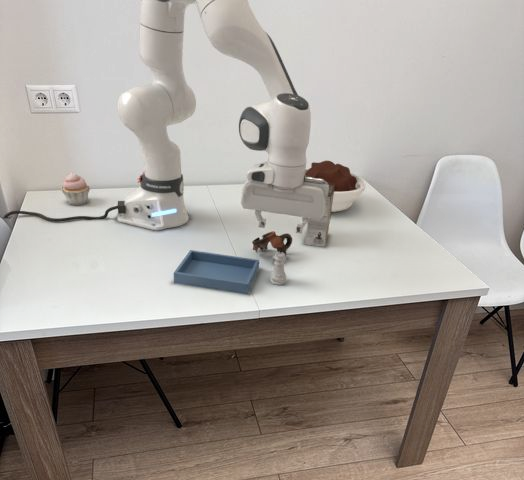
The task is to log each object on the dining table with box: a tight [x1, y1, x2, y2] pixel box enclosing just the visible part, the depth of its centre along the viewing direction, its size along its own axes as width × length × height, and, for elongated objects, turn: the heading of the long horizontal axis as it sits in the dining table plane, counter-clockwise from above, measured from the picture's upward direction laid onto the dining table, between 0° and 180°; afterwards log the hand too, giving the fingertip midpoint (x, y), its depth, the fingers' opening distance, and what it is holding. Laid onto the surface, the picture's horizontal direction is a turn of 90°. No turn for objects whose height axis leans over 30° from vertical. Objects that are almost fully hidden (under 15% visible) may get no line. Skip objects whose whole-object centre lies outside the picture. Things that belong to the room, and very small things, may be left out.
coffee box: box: [304, 185, 335, 248], centre depth 147 cm, size 9×6×16 cm
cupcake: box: [60, 171, 91, 206], centre depth 162 cm, size 9×9×10 cm
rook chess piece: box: [269, 251, 287, 286], centre depth 127 cm, size 4×4×8 cm
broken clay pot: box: [251, 231, 293, 261], centre depth 140 cm, size 12×10×8 cm
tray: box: [173, 249, 260, 295], centre depth 129 cm, size 20×14×3 cm
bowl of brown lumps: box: [305, 160, 366, 213], centre depth 170 cm, size 25×25×15 cm
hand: (280, 229), depth 121 cm, fingers open, 8 cm apart
